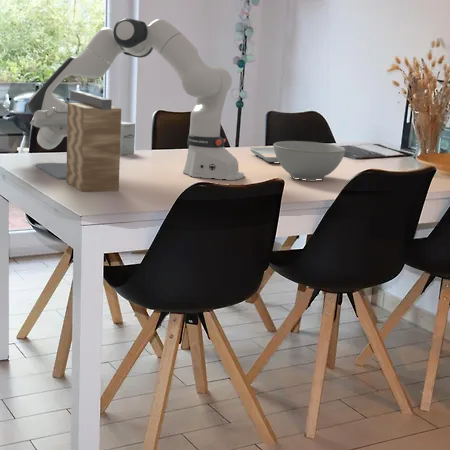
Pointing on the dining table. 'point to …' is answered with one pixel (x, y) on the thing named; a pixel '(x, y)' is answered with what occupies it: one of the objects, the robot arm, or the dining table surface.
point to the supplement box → (127, 138)
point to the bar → (91, 99)
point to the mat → (54, 169)
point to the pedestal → (93, 147)
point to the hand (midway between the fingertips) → (68, 109)
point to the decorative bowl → (308, 158)
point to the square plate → (262, 151)
